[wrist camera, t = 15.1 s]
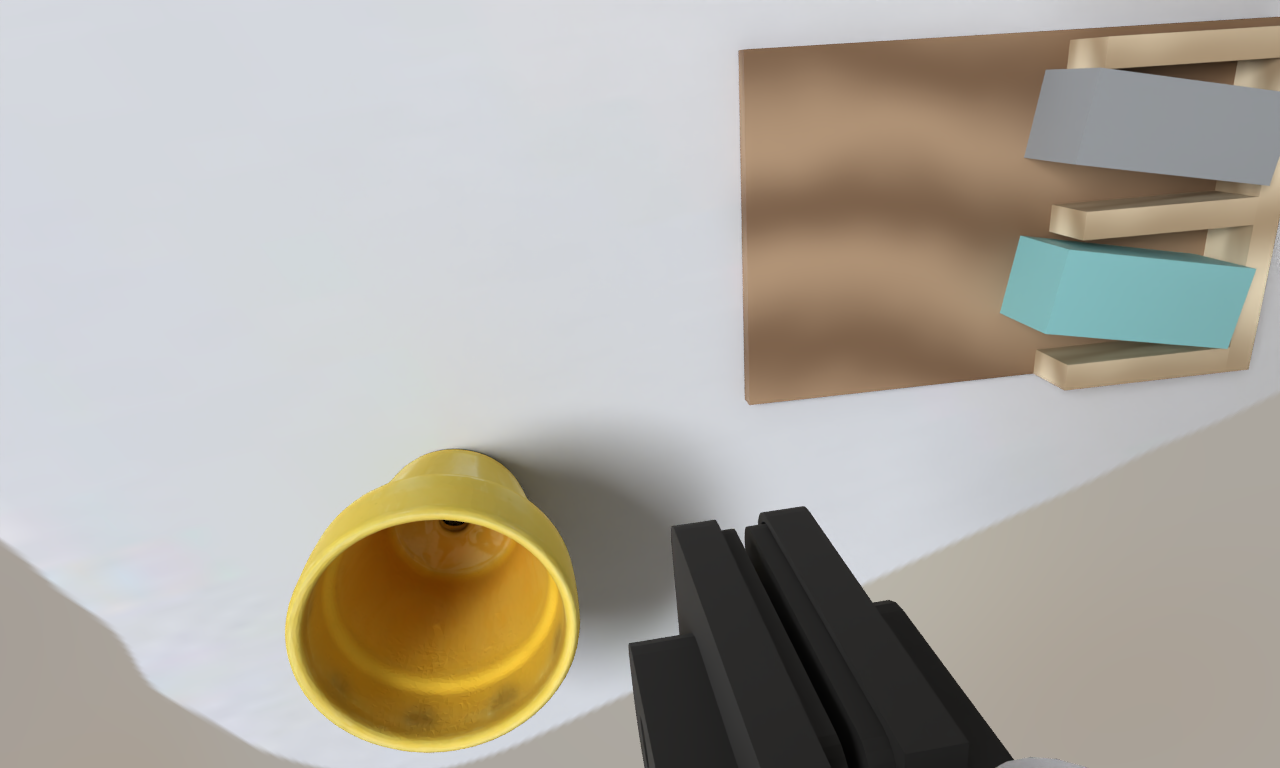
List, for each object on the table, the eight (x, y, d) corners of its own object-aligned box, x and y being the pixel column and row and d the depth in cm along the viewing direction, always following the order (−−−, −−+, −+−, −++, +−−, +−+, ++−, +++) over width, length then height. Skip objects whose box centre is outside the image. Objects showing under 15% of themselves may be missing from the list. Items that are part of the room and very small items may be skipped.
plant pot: (348, 393, 36) (291, 496, 27) (582, 422, 38) (603, 527, 29) (331, 596, 39) (275, 750, 30) (547, 613, 41) (557, 762, 32)
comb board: (738, 50, 33) (760, 46, 30) (1271, 17, 36) (1339, 11, 33) (744, 398, 39) (764, 424, 36) (1209, 347, 41) (1263, 367, 38)
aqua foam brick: (1020, 235, 37) (1068, 249, 34) (1193, 253, 39) (1256, 268, 35) (999, 313, 38) (1045, 333, 35) (1169, 327, 40) (1227, 348, 36)
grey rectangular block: (1045, 69, 35) (1100, 67, 31) (1230, 93, 36) (1301, 94, 33) (1024, 157, 36) (1074, 164, 33) (1203, 177, 37) (1269, 185, 34)
